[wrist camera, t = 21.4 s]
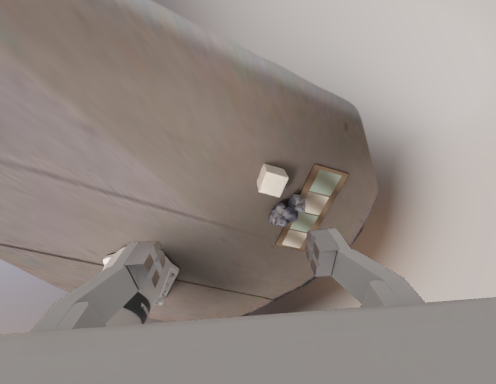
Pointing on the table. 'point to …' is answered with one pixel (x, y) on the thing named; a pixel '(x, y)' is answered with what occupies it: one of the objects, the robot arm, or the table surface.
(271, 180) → the cream white cube
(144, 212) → the table surface
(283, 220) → the seashell
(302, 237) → the brown rectangular frame
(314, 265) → the robot arm
